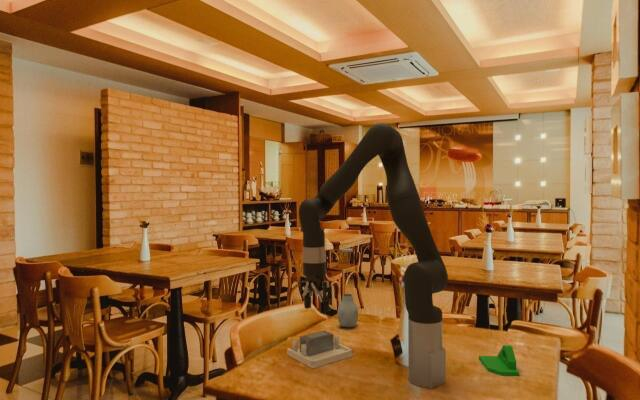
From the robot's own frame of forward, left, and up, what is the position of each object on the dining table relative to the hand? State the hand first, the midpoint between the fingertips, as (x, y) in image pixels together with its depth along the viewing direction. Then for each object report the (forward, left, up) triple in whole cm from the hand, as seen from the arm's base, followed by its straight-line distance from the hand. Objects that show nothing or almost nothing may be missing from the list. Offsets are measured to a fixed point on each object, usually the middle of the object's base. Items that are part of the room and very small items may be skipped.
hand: (315, 310), depth 145 cm
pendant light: (+15, -26, -14) cm, 34 cm away
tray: (-2, 0, -14) cm, 14 cm away
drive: (0, 0, -13) cm, 13 cm away
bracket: (-42, -36, -15) cm, 57 cm away
